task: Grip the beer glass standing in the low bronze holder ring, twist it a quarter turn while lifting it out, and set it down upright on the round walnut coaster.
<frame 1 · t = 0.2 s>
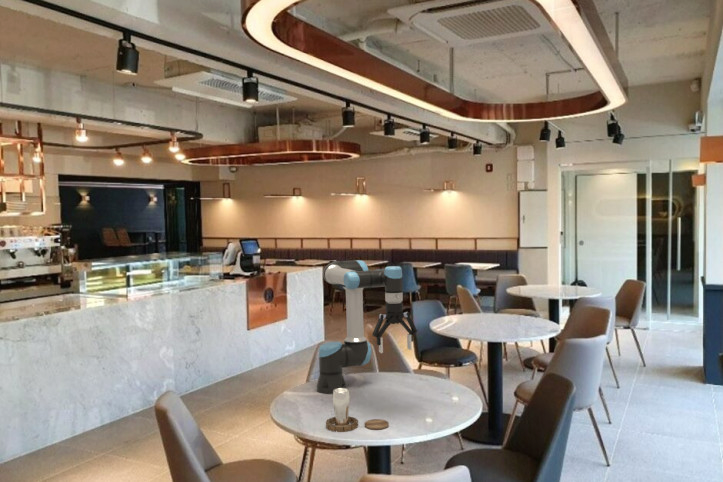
hand: (395, 350, 250), 28 cm above the table, tool pointing down, fingers open, 13 cm apart
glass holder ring: (342, 426, 238), on the table
walnut coaster: (376, 425, 238), on the table
beer glass: (342, 426, 238), resting in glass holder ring
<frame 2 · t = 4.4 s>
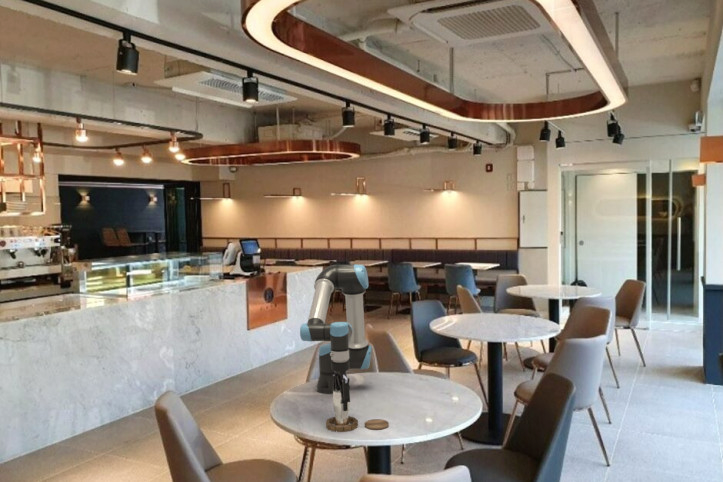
hand: (341, 415, 238), 4 cm above the table, tool pointing down, fingers closed on beer glass, 7 cm apart
beer glass: (342, 426, 238), resting in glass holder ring, touching gripper
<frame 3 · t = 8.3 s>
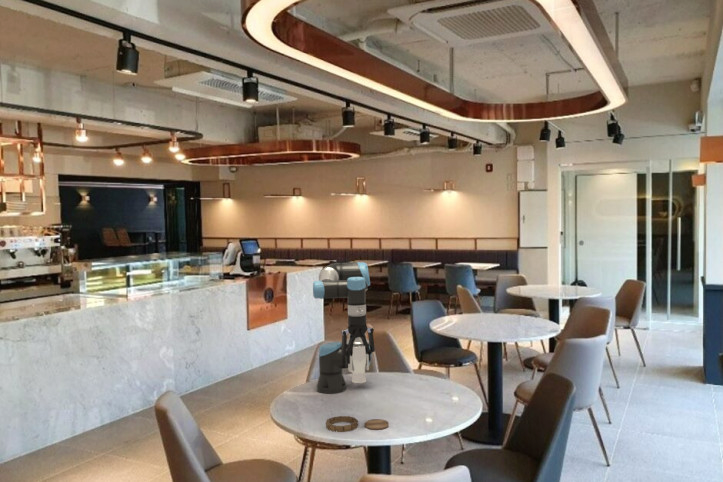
hand: (358, 370, 237), 23 cm above the table, tool pointing down, fingers closed on beer glass, 7 cm apart
beer glass: (358, 381, 237), point 18 cm above the table, touching gripper
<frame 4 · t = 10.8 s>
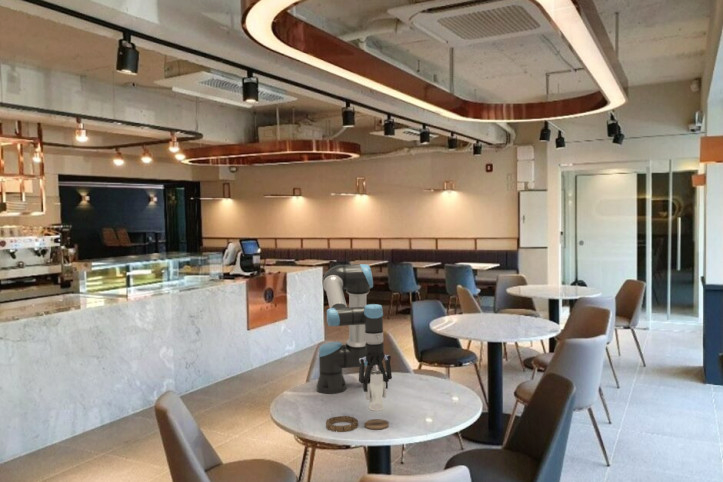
hand: (375, 397, 237), 12 cm above the table, tool pointing down, fingers closed on beer glass, 7 cm apart
beer glass: (376, 409, 238), point 7 cm above the table, touching gripper
when the fingers open (7 cm above the table, at t = 12.6 s): beer glass drops 1 cm, resting on walnut coaster.
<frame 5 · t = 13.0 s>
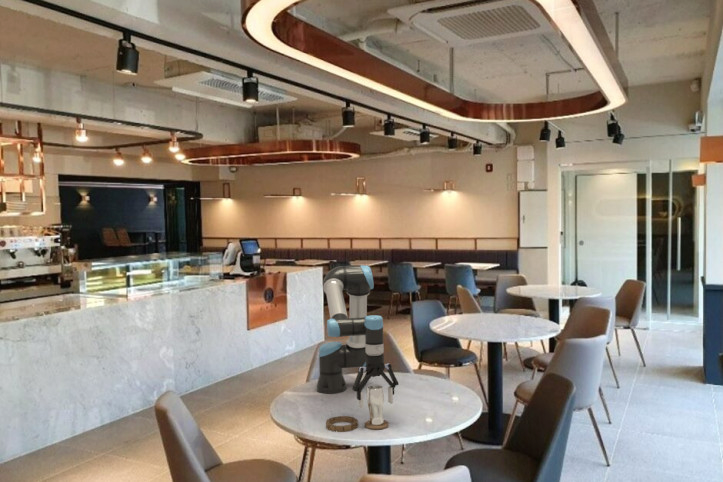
hand: (376, 405, 238), 9 cm above the table, tool pointing down, fingers open, 13 cm apart
beer glass: (376, 423, 238), point 1 cm above the table, touching walnut coaster
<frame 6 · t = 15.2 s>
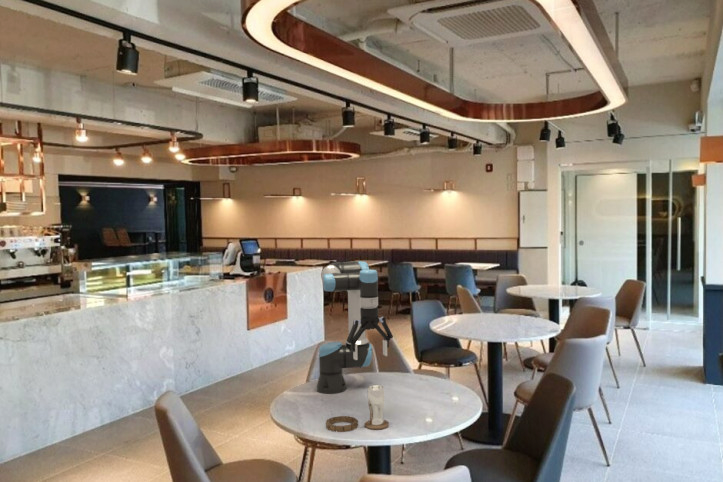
hand: (370, 357, 241), 27 cm above the table, tool pointing down, fingers open, 13 cm apart
nothing on the table moved.
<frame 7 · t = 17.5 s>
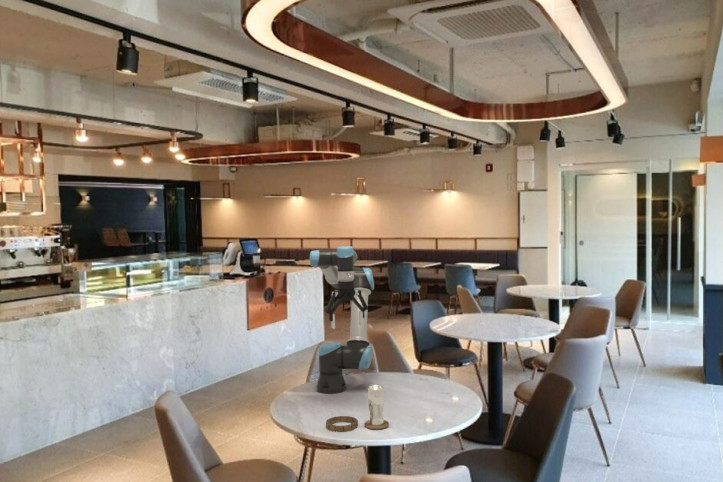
hand: (347, 326, 262), 37 cm above the table, tool pointing down, fingers open, 13 cm apart
nothing on the table moved.
at the end: beer glass 0.0 cm from the walnut coaster (horizontally); beer glass tilted 0°; the gripper is holding nothing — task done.
